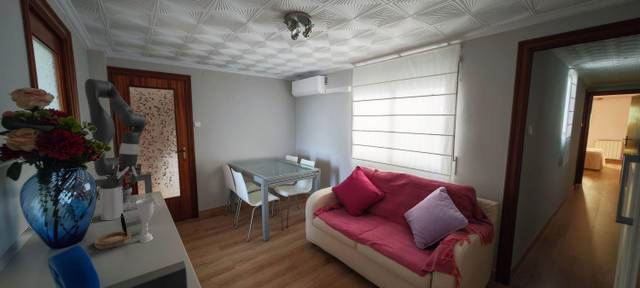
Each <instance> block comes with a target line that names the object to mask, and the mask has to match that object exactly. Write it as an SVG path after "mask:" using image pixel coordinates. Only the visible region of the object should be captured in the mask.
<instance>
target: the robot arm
mask: <svg viewBox="0 0 640 288" xmlns="http://www.w3.org/2000/svg"><path fill="white" fill-rule="evenodd" d="M84 91H85V96H86V101H87V105H88V110H89V117H90V119H89V120H90V124H91V123H92V124H93V125H94V126H95V127H96V128H97V130H96V131H95V132H92V131H91V134H92V135H91V136H92V140H93V139H95V140H97V141H99V142H102V143H107V144H108V146H109V145H110V143H111V142H112V140H113V139H114V137H115V134H116V129H115V122H114V120H113V119H112V117H111V116H110V115H109V113H108V112H106V110H105V109H104V108H103V106H102V105H101V101H100V98H102V99H109V100H110V102H109V108H110V109H111V110H112V111H113V112H114V114H115V115H116V116H117V118H118V121H119V123H120V124H121V125H122V126H124V127H128V128H132V129H131V130H130V131H129V130H128V131H125V132H123V133H122V136H121V144H120V147H119V150H118V151H119V153H118V157H117V156H115V157H106V152H105V153H103V155H102V156H101V159H100V160H98V161H97V162H93V163H94V170H95V173H96V175H97V176H99V177H104V176H109V178H107V179H105V180H102V181H101V182H100V183H99V197H100V198H99V200H100V201H99V203H100V219H101V221H112V220H117V219H120V218H121V217H120V216H121V213H123V214H124V202H123V201H124V199H123V198H124V196H123V182H124V181H123V180H124V174H130V180H129V184H130V185H131V184H132V185H135V184H136V181H137V177H138V176H141V175H142V174H141V173H142V163H137V162H138V161H139V159H138V158H139V153H140V142H141V136H142V134H143V132H144V130H145V128H146V125H147V118H146V116H144V115H143V114H140V113H135V112H134V109H133V107H131V106H130V105H129V104H128V103H127V102H126V101H125V100H124V99H123V98H122V96H121V94H120V92H119V91H118V89H116V87H115V86H114V84H113V83H112V82H110V81H107V80H100V79H94V78H88V79H86V80H85V82H84Z"/></svg>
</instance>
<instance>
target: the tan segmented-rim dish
mask: <svg viewBox="0 0 640 288" xmlns="http://www.w3.org/2000/svg"><path fill="white" fill-rule="evenodd" d="M124 231H125V230H119V231H118V230H117V231H113V232H109V233H106V234H102V235H101V236H98V237H96V239H95V240H94V242H93V244H94V246H95V249H98V250H99V249H101V250H106V249H112V248H116V247H118V246H122V245H124V244H126V243H129V242H130V240H131V238H132V232H130V233H128V235H127V236H126V235H125V232H124Z"/></svg>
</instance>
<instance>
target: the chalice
mask: <svg viewBox="0 0 640 288" xmlns="http://www.w3.org/2000/svg"><path fill="white" fill-rule="evenodd" d="M155 201H156V200H155V199H154V198H143V199H138V200H136V202H135V203H136V205H137V214H138V217H139V219H140V220H141V221H142V222H144V225H143V227H144V228H143V231H144V233H143V234H142V235H140V236H141V237H140V239H139V242H140V243H146V242H150V241H152V240H153V239H154V237H153V235H152V233H149V232H148V230H149V228H148V226H149V224H148V221H150V220H151V218H152V216H153V214H154V212H155V210H154V207H155V206H154V205H155Z"/></svg>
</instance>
